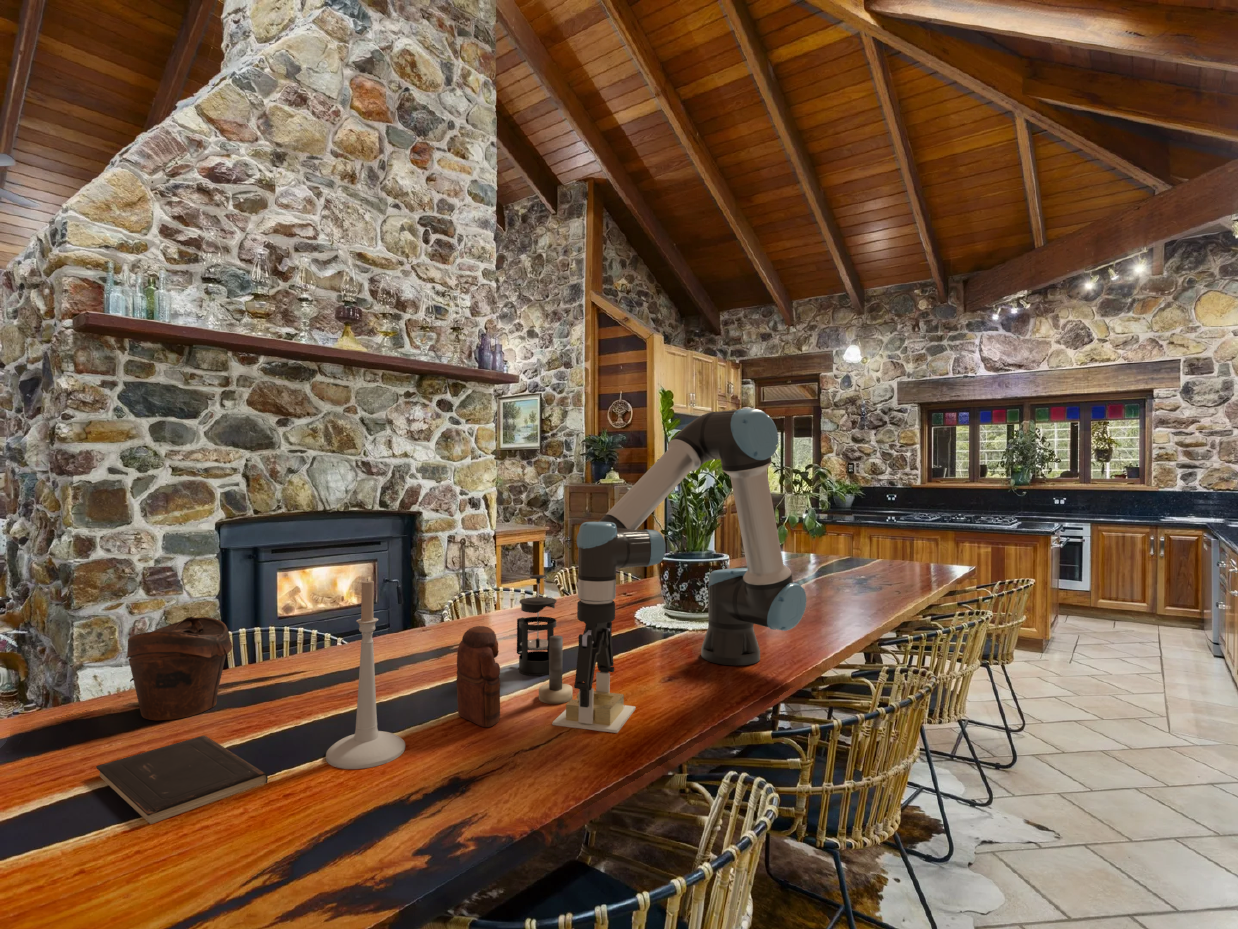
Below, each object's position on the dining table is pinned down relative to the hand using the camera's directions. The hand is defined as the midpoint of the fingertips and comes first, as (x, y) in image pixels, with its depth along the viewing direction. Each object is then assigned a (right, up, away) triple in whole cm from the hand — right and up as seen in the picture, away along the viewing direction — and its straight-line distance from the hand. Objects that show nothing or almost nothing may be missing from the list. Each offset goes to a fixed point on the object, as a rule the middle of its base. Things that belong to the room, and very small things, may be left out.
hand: (594, 713), depth 132 cm
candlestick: (-39, -1, -17) cm, 42 cm away
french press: (-15, -1, +31) cm, 34 cm away
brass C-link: (0, 0, 0) cm, 0 cm away
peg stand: (-9, -1, +11) cm, 14 cm away
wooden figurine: (-23, -1, -1) cm, 23 cm away
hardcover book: (-64, -1, -27) cm, 70 cm away
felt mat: (0, -1, 0) cm, 1 cm away
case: (-84, 0, +3) cm, 84 cm away
